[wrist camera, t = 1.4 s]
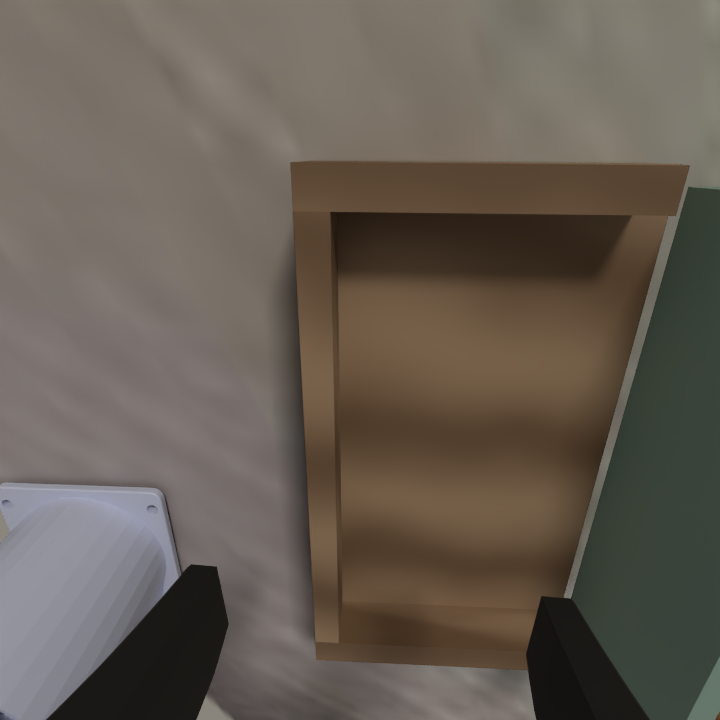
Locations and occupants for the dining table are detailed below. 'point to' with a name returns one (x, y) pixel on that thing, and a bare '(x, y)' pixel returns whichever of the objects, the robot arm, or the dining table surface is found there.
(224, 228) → the dining table surface
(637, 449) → the panel
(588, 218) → the tray
